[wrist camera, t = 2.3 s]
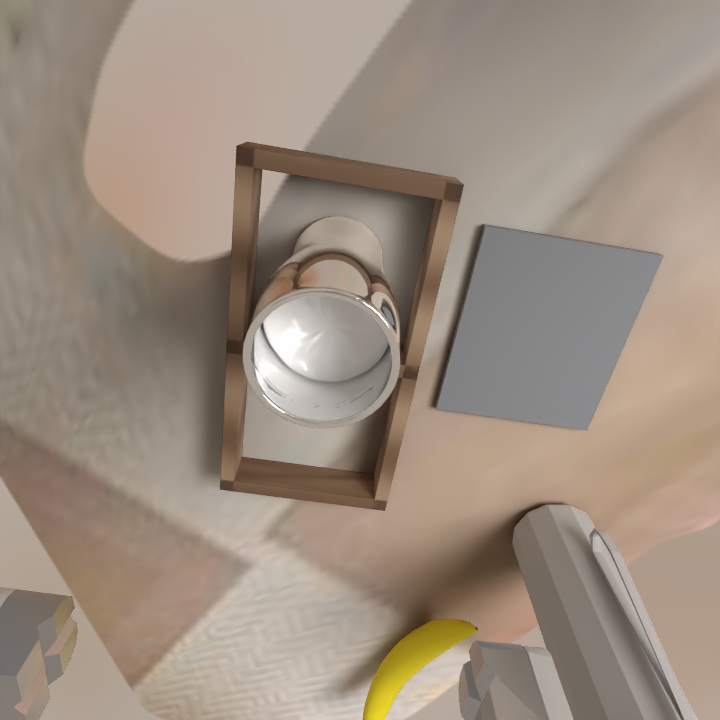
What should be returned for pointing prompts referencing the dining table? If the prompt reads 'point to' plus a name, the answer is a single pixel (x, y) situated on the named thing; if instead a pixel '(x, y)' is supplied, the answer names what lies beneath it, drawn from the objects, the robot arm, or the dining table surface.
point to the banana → (411, 661)
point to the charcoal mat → (542, 326)
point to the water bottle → (594, 620)
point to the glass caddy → (248, 175)
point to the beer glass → (326, 329)
